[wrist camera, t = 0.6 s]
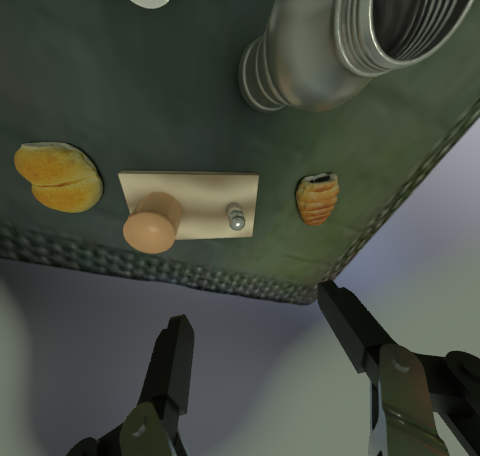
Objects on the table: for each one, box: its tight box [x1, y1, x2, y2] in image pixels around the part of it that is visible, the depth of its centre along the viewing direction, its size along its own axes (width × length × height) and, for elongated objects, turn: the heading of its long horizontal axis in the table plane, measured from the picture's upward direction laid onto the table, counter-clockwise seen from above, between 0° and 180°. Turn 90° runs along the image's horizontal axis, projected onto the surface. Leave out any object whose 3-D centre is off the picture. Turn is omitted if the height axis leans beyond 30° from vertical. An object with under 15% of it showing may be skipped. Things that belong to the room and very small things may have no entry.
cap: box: [123, 192, 182, 253], centre depth 25 cm, size 6×6×6 cm
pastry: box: [296, 173, 340, 226], centre depth 31 cm, size 9×7×4 cm
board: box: [118, 171, 259, 240], centre depth 29 cm, size 11×19×2 cm, turn 87°
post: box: [226, 203, 245, 231], centre depth 27 cm, size 2×2×5 cm
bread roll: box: [14, 142, 103, 213], centre depth 23 cm, size 8×9×4 cm
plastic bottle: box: [238, 0, 474, 113], centre depth 14 cm, size 6×7×20 cm
